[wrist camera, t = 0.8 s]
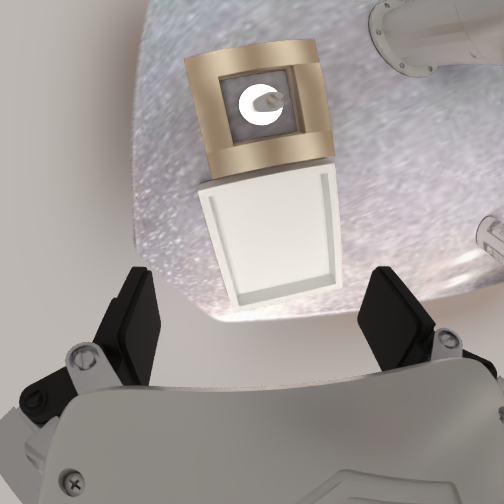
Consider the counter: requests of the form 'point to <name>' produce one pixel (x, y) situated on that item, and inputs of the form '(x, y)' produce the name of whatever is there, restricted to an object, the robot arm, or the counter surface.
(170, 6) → the counter surface
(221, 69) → the holder
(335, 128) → the counter surface
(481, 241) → the bath foam
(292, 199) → the tray
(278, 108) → the screw
